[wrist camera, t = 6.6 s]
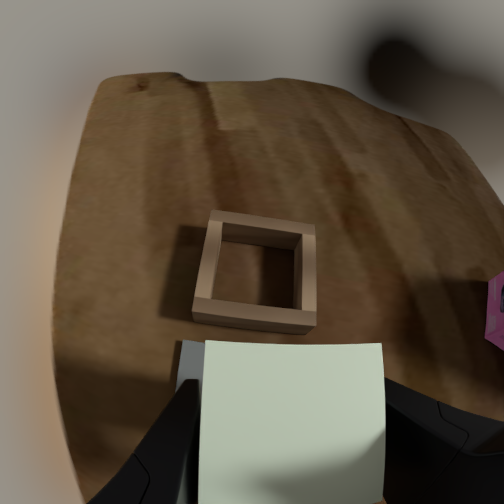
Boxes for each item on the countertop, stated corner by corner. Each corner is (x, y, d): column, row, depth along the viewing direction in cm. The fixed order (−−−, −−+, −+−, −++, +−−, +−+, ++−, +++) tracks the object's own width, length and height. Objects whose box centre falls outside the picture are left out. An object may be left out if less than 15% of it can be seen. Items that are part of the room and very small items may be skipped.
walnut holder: (305, 335, 20) (316, 325, 18) (194, 321, 20) (191, 311, 18) (306, 241, 24) (314, 224, 22) (211, 228, 24) (211, 209, 22)
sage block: (285, 451, 13) (381, 500, 4) (209, 450, 12) (198, 518, 4) (286, 383, 15) (381, 343, 6) (213, 380, 14) (205, 339, 6)
